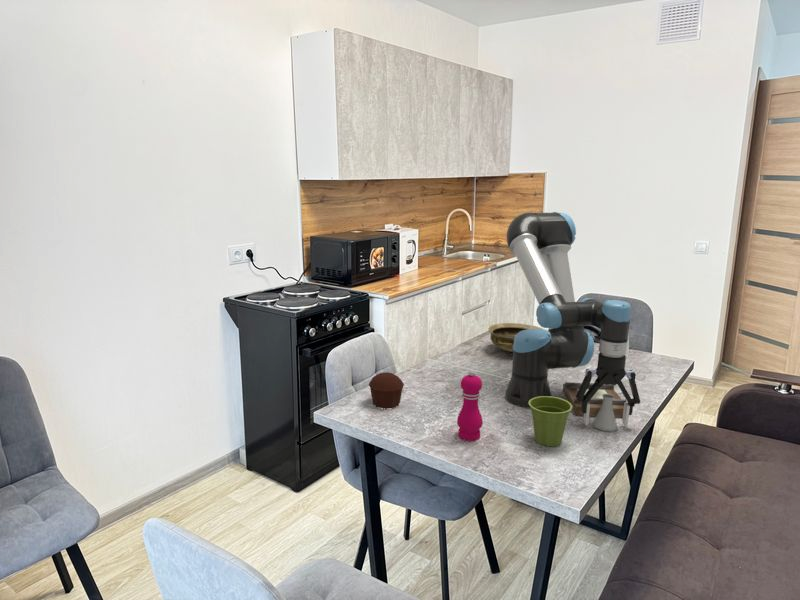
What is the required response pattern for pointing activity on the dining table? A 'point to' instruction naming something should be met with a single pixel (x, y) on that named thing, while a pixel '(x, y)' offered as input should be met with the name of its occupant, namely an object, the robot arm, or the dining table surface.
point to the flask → (606, 415)
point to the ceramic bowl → (507, 334)
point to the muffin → (386, 390)
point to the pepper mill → (470, 408)
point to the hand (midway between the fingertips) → (605, 423)
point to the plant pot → (549, 419)
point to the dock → (593, 399)
